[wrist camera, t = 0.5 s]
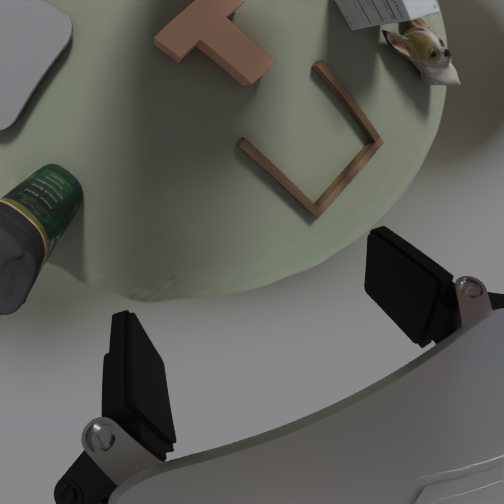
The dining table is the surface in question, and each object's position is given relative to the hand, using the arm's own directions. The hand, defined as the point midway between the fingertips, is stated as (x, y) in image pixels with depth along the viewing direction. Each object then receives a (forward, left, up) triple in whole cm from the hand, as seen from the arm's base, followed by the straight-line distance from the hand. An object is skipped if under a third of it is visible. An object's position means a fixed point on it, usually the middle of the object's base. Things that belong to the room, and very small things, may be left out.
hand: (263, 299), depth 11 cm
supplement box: (-34, +1, -29) cm, 45 cm away
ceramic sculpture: (-39, +13, -29) cm, 50 cm away
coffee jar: (+15, -12, -29) cm, 34 cm away
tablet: (+3, -35, -29) cm, 45 cm away
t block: (-13, -7, -28) cm, 32 cm away
